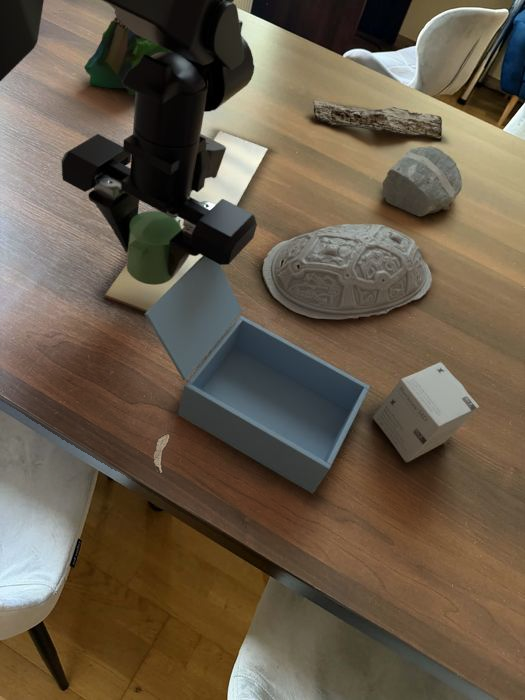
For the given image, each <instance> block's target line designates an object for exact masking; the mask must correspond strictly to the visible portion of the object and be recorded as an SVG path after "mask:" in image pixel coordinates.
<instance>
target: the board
mask: <svg viewBox="0 0 525 700" xmlns="http://www.w3.org/2000/svg"><path fill="white" fill-rule="evenodd" d="M213 140H214V141H216V142H218V143H220V144H222V145H224V146H225V147H226V150H225V153H224V156H223V159H222V162H221V165H220V168H219V170H218V173H217V176H216V178H212V177H209V178H206V179H205V183H204V187H203V188H202V189H201V190H200V191H199V192H196V191H194V190H193V191H192V192H191V195H190V197H191V198H193V199H195V200H197V201H199V202H203V201H207V202H210V203H212V204H214V205H216V204H217V203H218V202H219V201H220V200H221V199H224V200H226V201H228V202H230V203H232V204H234V205H236V206H238V205H239V204H240V201H241V199H242V198H243V196H244V194H245V193H246V190H247V189H248V187H249V185H250V183H251V181H252V180H253V178H254V176H255V175H256V173H257V171H258V169H259V166H260V165H261V163H262V161H264V157H265V156H266V154H267V152H268V148H267V147H265V146H262V145H259V144H257V143H253V142H251V141H249V140H245V139H243V138H240V137H237V136H234V135H232V134H230V133H227V132H224V131H221V130H219V131H218V133H217V134H216V135H215V137H214V138H213ZM164 214H165V213H164ZM177 218H179V219H180V226H181V229H183V227H185V226H183V222H184V219H182V218H180V217H178V216H177ZM202 256H203V255H201V254H199V255H197V256H192V255H189V257H188V258H187V260H186V261H185V262H184V264H183V265H182V267H181V268H180V270H179V271H178V273H177V274H176V275H175V276H174V277H173V278H172V279H171V280H169V281H168V282H166V283H163V284H158V285H151V284H145V283H142V282H139V281H137V280H136V279H134V278H133V277H132V276H131V275H130V274H129V272H128V270H127V263H126V264H125V265H124V267H123V268H122V269H121V271H120V273H119V274H118V276H117V277H116V278H115V280H114V281H113V282H112V284H111V285H110V287H109V288H108V290H107V291H106V293H105V294H104V298H107V299H109V300H112V301H115V302H117V303H119V304H123V305H125V306H127V307H131V308H134V309H136V310H139V311H141V312H144V313H146V312H147V311H148V310H149V309H150V308H151V307H152V306H153V305H154V304H155V303H156V302H157V301H158V300H159V299H160V298H161V297H162V296H163V295H164V294H165V293H166V292H167V291H168V290H169V289H170V288H171V287H172V286H173V285H174V284H175V283H176V282H177V281H178V280H179V279H180V278H181V277H182V276H183V275H184V274H185V273H186V272H187V271H188V270H189V269H190V268H191V267H192V266H193V265H194V264H195V263H196V262H197V261H198V260H199V259H200V258H201V257H202Z"/></svg>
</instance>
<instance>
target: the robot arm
mask: <svg viewBox="0 0 525 700" xmlns="http://www.w3.org/2000/svg"><path fill="white" fill-rule="evenodd" d="M44 1H45V0H0V82H2V81H3V80H4V79H5V78H6V77H7V76H8V75H9V74H10V73H11V72H12V71H13V70H14V69H15V68H16V67H17V66H18V65H19V64H20V63H21V62H22V61H23V60H24V59H25V58H26V57H27V56H28V55H29V54H30V53H31V52H32V51H33V50H34V49H35V48H36V45H37V43H38V40H39V34H40V27H41V21H42V15H43V9H44V8H43V7H44ZM101 1H102V2H104V3H106V4H108V5H109V6H110V7H111V8H113V10H114V14H115V17H117V18H118V19H119V20H120V21H121V22H122V23H123V24H124V25H125V26H126V27H128V28H129V29H130V30H131V31H132V32H133V33H135V34H136V35H138V36H140V37H143V38H145V39H147V40H149V41H151V42H153V43H155V44H158V45H160V46H162V47H164V48H166V49H168V50H170V51H173V53H172V52H159V53H156V54H154V55H152V56H148V55H146V54H144V55H143V56H142V57H141V59H140V61H139V62H138V64H137V65H135V66H134V67H133V68H131V69H130V70H128V72H127V74H126V75H125V77H124V79H123V85H124V86H125V87H126V88H129V89H131V90H133V91H135V92H136V95H134V96H135V97H134V109H133V110H134V111H133V112H134V113H133V127H132V134H131V135H129V136H127V137H126V138H125V139H123V145H120V144H118V143H117V142H115V141H113V140H111V139H109V138H107V137H105V136H103V135H101V134H99V133H97V134H95V135H93V136H91V137H89V138H88V139H85V141H83V142H82V143H80V144H78V145H76V146H74V147H73V148H71V149H69V150H67V151H66V152H65V153H64V155H63V157H62V158H61V178H62V181H63V182H65V183H68V184H69V185H71V186H73V187H75V188H77V189H78V190H81V191H82V192H83V193H86V192H88V191H90V190H91V191H90V192H88V200H89V201H90V202H92V203H93V204H94V205H95V206H96V207H97V209H98V210H99V211H100V213H101V215H102V216H103V217H104V219H105V220H106V221H107V223H108V225H109V226H110V229H112V231H113V233H114V235H115V236H116V238H117V240H118V241H119V244H121V246H122V248H123V250H124V252H125V253H126V254H127V253H128V239H129V225H130V221H131V220H132V218H133V217H134V216H136V215H137V214H139V205H140V202H141V203H144V204H146V205H147V206H149V207H151V208H153V209H155V210H157V211H158V212H161V213H165V214H167V215H168V216H170V217H172V218H176V217H177V216H178V217H180V218H182V219H184V222H183V226H185V227H183V229H182V230H181V231H179V232H178V233H177V234H176V235H175V236H174V237H173V238H172V239H171V240H170V242H169V263H168V270H169V275H170V276H171V277H174V276H175V275H176V274H177V273H178V271H179V270H180V268H181V267H182V265H183V264H184V262H185V261H186V260H187V258H188V257H189V255H192V256H197V255H199V254H201V255H203V256H205V257H207V258H208V259H210V260H212V261H214V262H216V263H218V264H220V266H227V265H230V264H231V262H232V261H234V259H235V258H236V257H237V256H238V255H239V254H240V253H241V252H242V250H243V249H245V248H246V246H247V245H249V243H250V242H251V241H252V240H253V239H254V237H255V234H256V231H257V226H258V223H257V219H256V216H255V215H254V213H251V212H249V211H247V210H246V209H244V208H242V207H240V206H238V205H237V206H236V205H234V204H232V203H230V202H228V201H226V200H224V199H221V200H220V201H219V202H218V203H217V204H216V205H214V204H212V203H210V202H207V201H203V202H199V201H197V200H195V199H193V198H191V197H190V195H191V192H192V191H193V190H194V191H196V192H199V191H200V190H201V189H202V188H203V187H204V183H205V179H206V178H209V177H212V178H216V176H217V173H218V170H219V168H220V165H221V162H222V159H223V156H224V153H225V150H226V147H225V146H224V145H222V144H220V143H218V142H216V141H214V139H212V138H210V137H208V136H206V135H204V134H202V127H203V123H204V122H203V121H204V115H205V113H209V112H212V111H216V110H217V109H219V108H220V107H221V106H222V105H223V104H225V103H226V102H227V101H229V100H230V99H231V98H233V97H234V96H235V95H236V94H238V93H239V92H241V90H243V89H244V88H245V87H247V86H248V85H249V84H250V82H251V80H252V78H253V76H254V73H255V64H254V56H253V53H252V50H251V47H250V46H249V43H248V42H247V40H246V39H245V38H244V37H243V36H242V30H243V24H244V23H243V21H242V20H240V18H239V17H240V16H239V12H238V7H237V5H236V4H235V3H234V1H235V0H101ZM126 88H125V89H126ZM129 164H130V167H129V166H127V165H129Z"/></svg>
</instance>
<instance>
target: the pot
mask: <svg viewBox="0 0 525 700" xmlns="http://www.w3.org/2000/svg"><path fill="white" fill-rule="evenodd" d="M181 230H182V229H181V226H180V219H179V218H177V217H176V218H172V217H170V216H168V215H167V214H164V213H163V212H161V211H152V210H151V211H150V210H148V211H143V212H140V213H139V212H138V214H137V215H136V216H134V217H133V218H132V220H131V221H130V225H129V239H128V253H127V252H126V254H127V255H126V264H127V270H128V272H129V274H130V275H131V276H132V277H133V278H134V279H136V280H137V281H139V282H142V283H145V284H151V285H158V284H163V283H166V282H168V281H169V280H171V279H172V278H173V277H171V276H170V275H169V270H168V263H169V242H170V240H171V239H172V238H173V237H174V236H175V235H176V234H177V233H178V232H179V231H181Z"/></svg>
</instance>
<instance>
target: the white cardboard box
mask: <svg viewBox="0 0 525 700" xmlns="http://www.w3.org/2000/svg"><path fill="white" fill-rule="evenodd" d="M479 409H480V406H479V404H478V403H477V402H476V401H475V400H474V399H473V397H472V396H471V395H470V394H469V392H467V390H466V388H465V387H464V385H463V384H462V383H461V382H460V381H459V380H458V379H457V378H456V377H455V376H454V375H453V374H452V373H451V371H449V369H448V368H447V366H445V365H444V363H443V362H441V361H440V362H438V363H434V364H432V365H430V366H428V367H426V368H423V369H422V370H419V371H417V372H415V373H413V374H410V375H407V376H405V377H403V378H401V379H400V380H398V382H397V384H396V385H395V386H394V388H393V389H392V391H391V392H390V393H389V394H388V396H387V397H386V399H385V400H384V401H383V403H382V404H381V405H380V406H379V408H378V409H377V410H376V412H375V413H374V415H373V416H372V418H373V420H374V421H375V423H376V424H377V425H378V426H379V428H380V429H381V430H382V432H383V433H384V434H385V436H386V437H387V439H388V440H389V441H390V443H391V444H392V445H393V447H394V448H395V449H396V451H397V452H398V454H399V455H400V457H401V458H402V460H403V461H404V462H405V463H409V462H411V461H413V460H416V458H418V457H420V456H422V455H424V454H427V453H428V452H430V451H432V450H433V449H435V448H437V447H439V446H441V445H443V444H445V443H446V442H447V441H448V440H449V439H450V438H451V437H452V436H453V435H455V433H456V432H457V431H458V430H459V429H460V428H461V427H462V426H463V425H464V424H465V423H466V421H468V420H469V419H470V418H471V417H472V416H473V415H474V414H475V413H476V412H477V411H478V410H479Z"/></svg>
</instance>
